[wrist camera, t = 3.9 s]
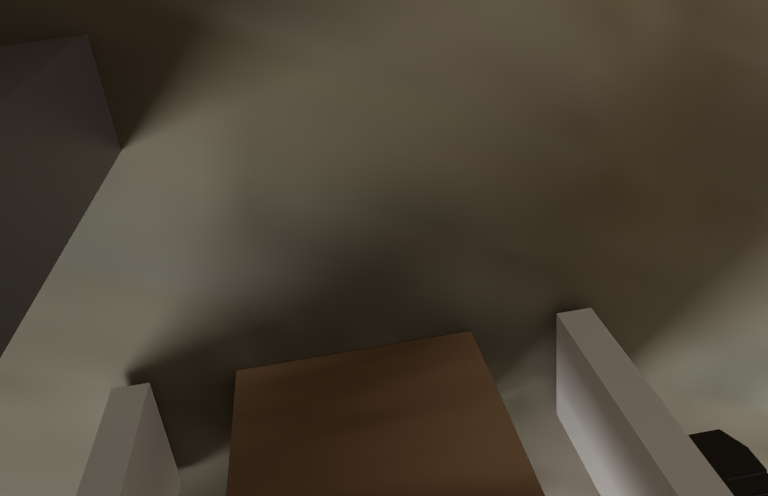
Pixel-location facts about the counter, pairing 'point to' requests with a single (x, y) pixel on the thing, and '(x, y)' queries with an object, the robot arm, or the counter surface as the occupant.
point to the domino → (46, 161)
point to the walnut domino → (377, 426)
